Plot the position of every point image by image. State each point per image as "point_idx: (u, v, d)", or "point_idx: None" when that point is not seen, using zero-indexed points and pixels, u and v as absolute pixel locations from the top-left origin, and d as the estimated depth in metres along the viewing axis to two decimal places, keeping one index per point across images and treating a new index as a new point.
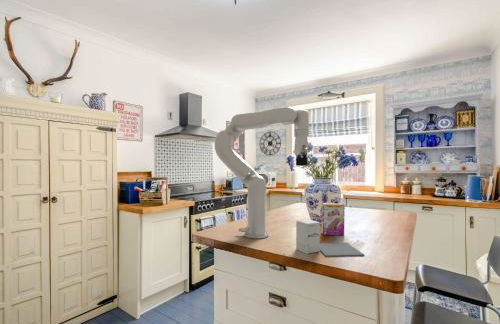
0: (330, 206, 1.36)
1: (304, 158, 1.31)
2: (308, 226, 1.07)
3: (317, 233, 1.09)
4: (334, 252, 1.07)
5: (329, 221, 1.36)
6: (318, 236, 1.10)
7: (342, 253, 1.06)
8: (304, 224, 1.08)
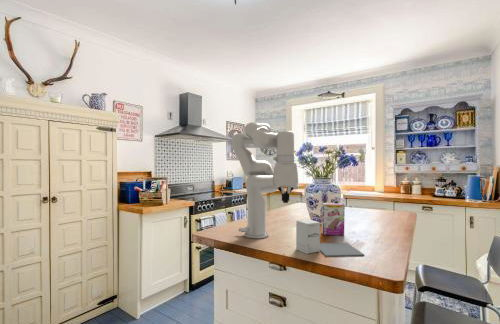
0: (330, 206, 1.36)
1: None
2: (308, 226, 1.07)
3: (317, 233, 1.09)
4: (334, 252, 1.07)
5: (329, 221, 1.36)
6: (318, 236, 1.10)
7: (342, 253, 1.06)
8: (304, 224, 1.08)
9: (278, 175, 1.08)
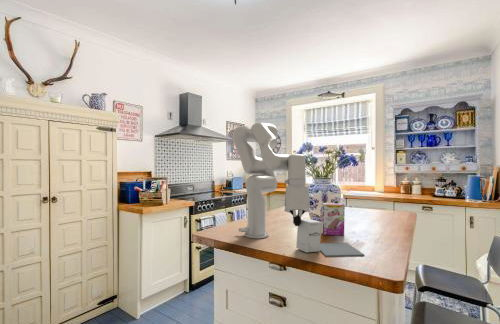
0: (330, 206, 1.36)
1: None
2: (310, 225, 1.08)
3: (318, 233, 1.10)
4: (334, 252, 1.07)
5: (329, 221, 1.36)
6: (319, 236, 1.10)
7: (342, 253, 1.06)
8: (306, 222, 1.09)
9: (290, 199, 1.08)
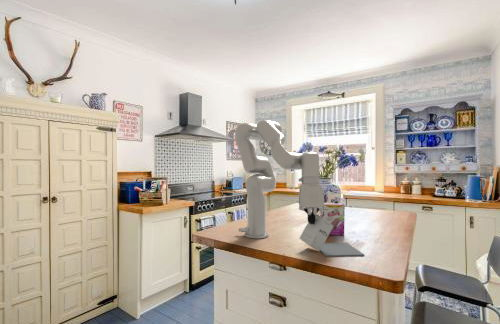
0: (330, 206, 1.36)
1: None
2: (324, 222, 1.09)
3: (326, 234, 1.11)
4: (334, 252, 1.07)
5: (329, 221, 1.36)
6: (326, 237, 1.11)
7: (342, 253, 1.06)
8: (321, 218, 1.10)
9: (304, 197, 1.08)
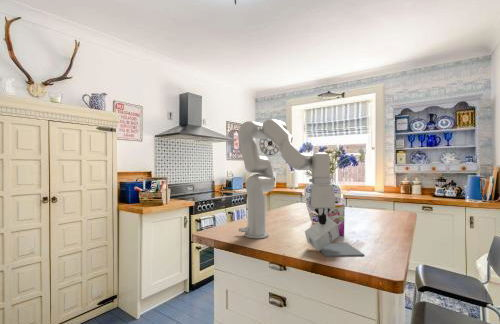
0: None
1: None
2: (336, 227, 1.10)
3: (331, 239, 1.11)
4: (334, 252, 1.07)
5: None
6: (329, 241, 1.11)
7: (342, 253, 1.06)
8: (333, 222, 1.11)
9: (316, 197, 1.09)
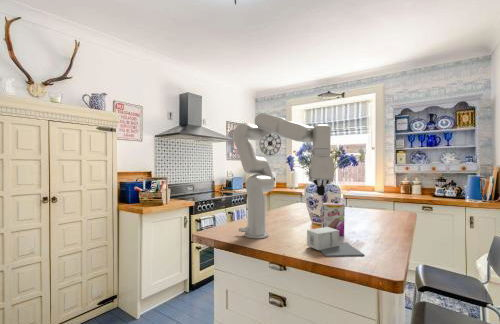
0: (330, 206, 1.36)
1: None
2: (337, 232, 1.15)
3: (331, 244, 1.13)
4: (334, 252, 1.07)
5: (329, 221, 1.36)
6: (329, 246, 1.12)
7: (342, 253, 1.06)
8: (335, 229, 1.17)
9: (315, 168, 1.10)
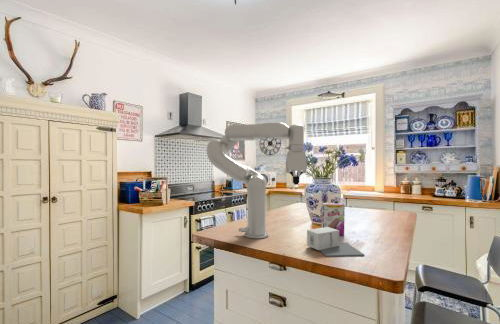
0: (330, 206, 1.36)
1: None
2: (337, 232, 1.15)
3: (331, 244, 1.13)
4: (334, 252, 1.07)
5: (329, 221, 1.36)
6: (329, 246, 1.12)
7: (342, 253, 1.06)
8: (335, 229, 1.17)
9: (290, 161, 1.30)
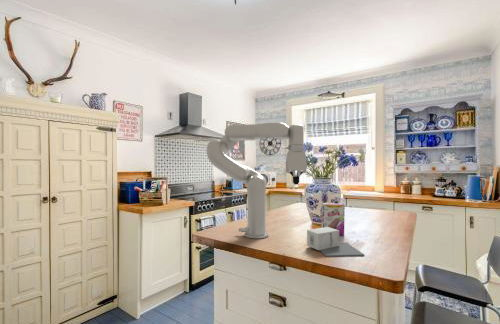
0: (330, 206, 1.36)
1: None
2: (337, 232, 1.15)
3: (331, 244, 1.13)
4: (334, 252, 1.07)
5: (329, 221, 1.36)
6: (329, 246, 1.12)
7: (342, 253, 1.06)
8: (335, 229, 1.17)
9: (290, 161, 1.30)
